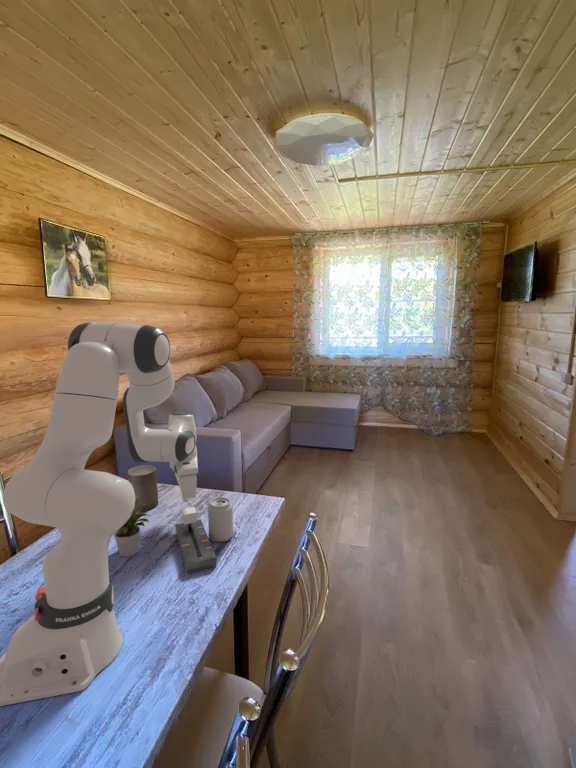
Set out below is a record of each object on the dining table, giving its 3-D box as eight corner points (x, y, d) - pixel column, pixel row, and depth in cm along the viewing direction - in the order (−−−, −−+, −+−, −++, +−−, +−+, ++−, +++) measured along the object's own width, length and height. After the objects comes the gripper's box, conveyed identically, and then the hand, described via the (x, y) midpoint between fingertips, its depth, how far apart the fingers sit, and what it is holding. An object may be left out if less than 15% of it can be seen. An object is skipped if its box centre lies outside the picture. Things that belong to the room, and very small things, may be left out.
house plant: (105, 575, 101) (100, 518, 99) (92, 551, 112) (87, 499, 109) (157, 554, 110) (154, 502, 108) (141, 534, 121) (138, 485, 118)
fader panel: (186, 574, 102) (186, 564, 101) (175, 533, 122) (175, 524, 121) (216, 567, 105) (216, 556, 104) (200, 527, 125) (200, 519, 124)
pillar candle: (161, 498, 145) (159, 461, 143) (154, 511, 136) (151, 471, 133) (135, 499, 145) (132, 461, 142) (126, 512, 135) (123, 472, 133)
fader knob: (184, 530, 117) (183, 514, 117) (182, 523, 121) (181, 509, 120) (197, 527, 119) (196, 512, 118) (194, 521, 123) (194, 506, 122)
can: (235, 531, 123) (234, 496, 121) (229, 544, 116) (229, 507, 114) (212, 529, 124) (211, 495, 122) (205, 543, 116) (204, 506, 114)
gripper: (169, 451, 132) (171, 488, 135) (177, 473, 114) (180, 516, 116) (188, 449, 135) (190, 485, 137) (199, 470, 116) (201, 512, 119)
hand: (185, 499), depth 127 cm, fingers closed
